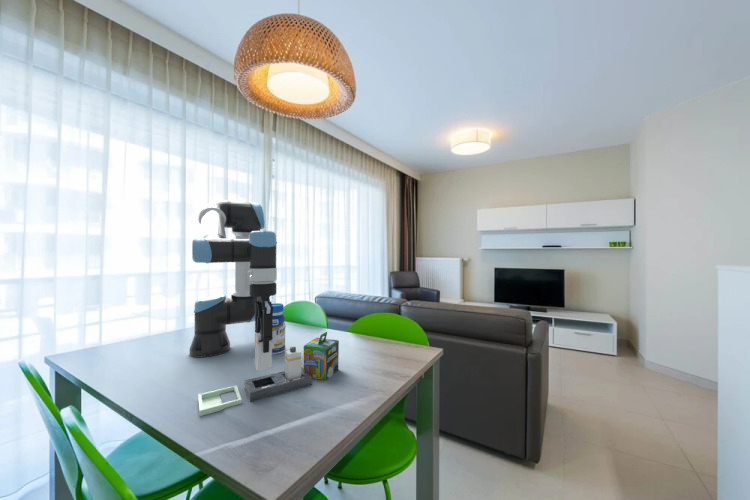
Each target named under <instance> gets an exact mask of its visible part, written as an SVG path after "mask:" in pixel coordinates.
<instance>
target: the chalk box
mask: <svg viewBox="0 0 750 500" xmlns="http://www.w3.org/2000/svg"><path fill="white" fill-rule="evenodd" d="M327 336H328V331H325V332H323V333H322V334H320V336H319V337H315V338H314V339H312V340H311V341H309V342H308V343H305V344H304V345H303V368H304V369H305V370H306V371H307V372H308V373H309V374H310V375H311V376H312V379H317V380H323V381H327V380H329V379H330V378H331V377H332V376H333V375H335V374H336V373H337V372H338V371H339V358H340V357H339V355H340V353H339V350H340V349H339V347H340V346H339V344H340V341H339V340H338V339H333V338H332V339H330V338H327Z"/></svg>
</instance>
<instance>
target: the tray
mask: <svg viewBox="0 0 750 500" xmlns="http://www.w3.org/2000/svg"><path fill="white" fill-rule="evenodd" d="M229 392H234V395H235V398H236V399H233V400H229V401H225V402H223V400H222V396H221V395H222V394H224V393H229ZM240 393H241V392H240V391H239V388H238V386H237V384H236V385H232V386H228V387H223V388H218V389H216V390H212V391H211V390H210V391H206V392H201V393H198V394H197V405H198V413H199V417H202V416H207V415H209V414H213V413H216V412H217V413H218V412H220V411H223V410H225V408H229V407H233V406H237V405H240V404H242V403H243V398H242V396H241V394H240Z"/></svg>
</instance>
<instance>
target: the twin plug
mask: <svg viewBox="0 0 750 500" xmlns="http://www.w3.org/2000/svg"><path fill="white" fill-rule="evenodd" d="M301 367H302V351H301V350H300V349H298V348H297V347H296V346H290V348H289V349H287V350H286V349H285V351H284V371H285V378H286V380H290V379H294V378H298V377H301Z"/></svg>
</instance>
